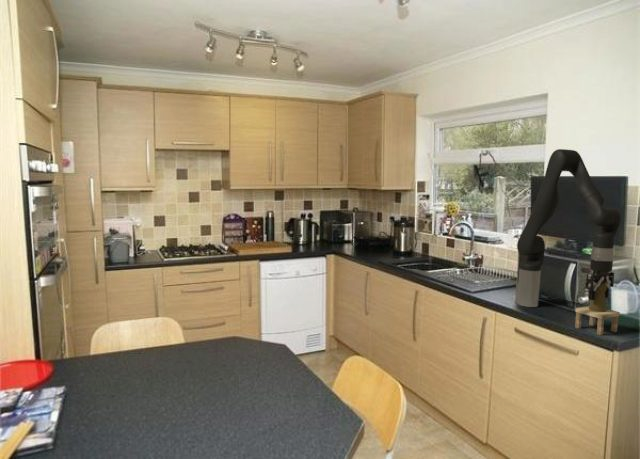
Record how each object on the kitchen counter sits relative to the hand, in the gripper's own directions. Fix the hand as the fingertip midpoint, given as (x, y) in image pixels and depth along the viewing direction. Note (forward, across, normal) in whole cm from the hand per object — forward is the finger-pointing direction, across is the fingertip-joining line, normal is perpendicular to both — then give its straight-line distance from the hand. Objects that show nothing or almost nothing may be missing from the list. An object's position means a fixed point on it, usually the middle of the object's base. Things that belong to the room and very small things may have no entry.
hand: (598, 298), depth 185 cm
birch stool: (+13, 0, 0) cm, 13 cm away
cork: (+5, 0, 0) cm, 5 cm away
